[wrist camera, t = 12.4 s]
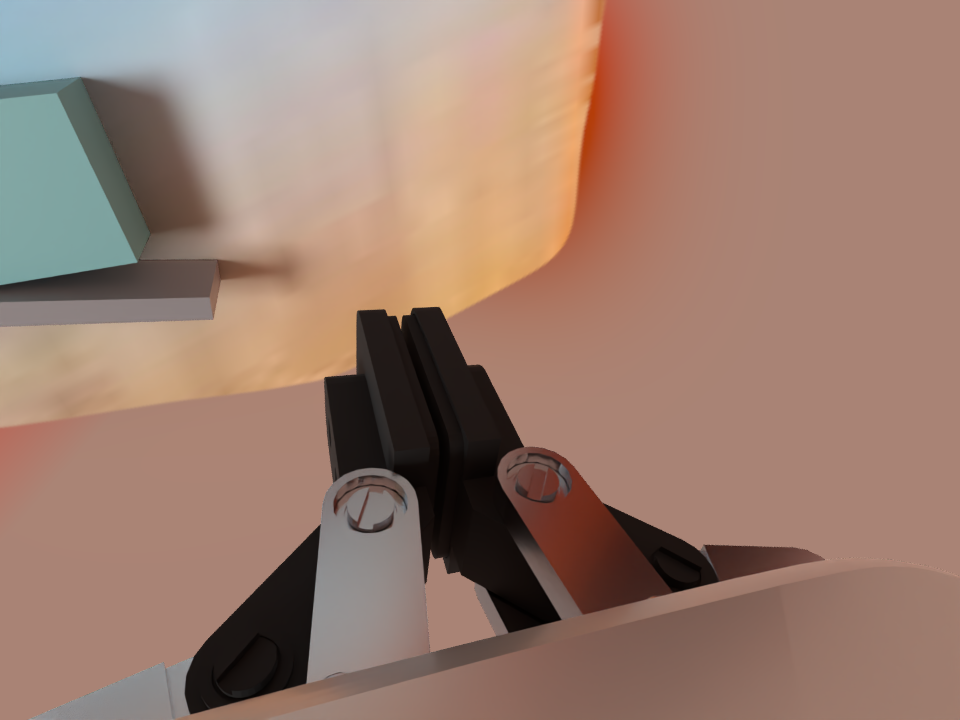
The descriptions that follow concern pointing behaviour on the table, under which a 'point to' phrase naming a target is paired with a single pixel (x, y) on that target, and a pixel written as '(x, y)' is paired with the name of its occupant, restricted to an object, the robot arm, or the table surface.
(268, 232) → the table surface
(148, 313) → the box
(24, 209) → the teal square block
